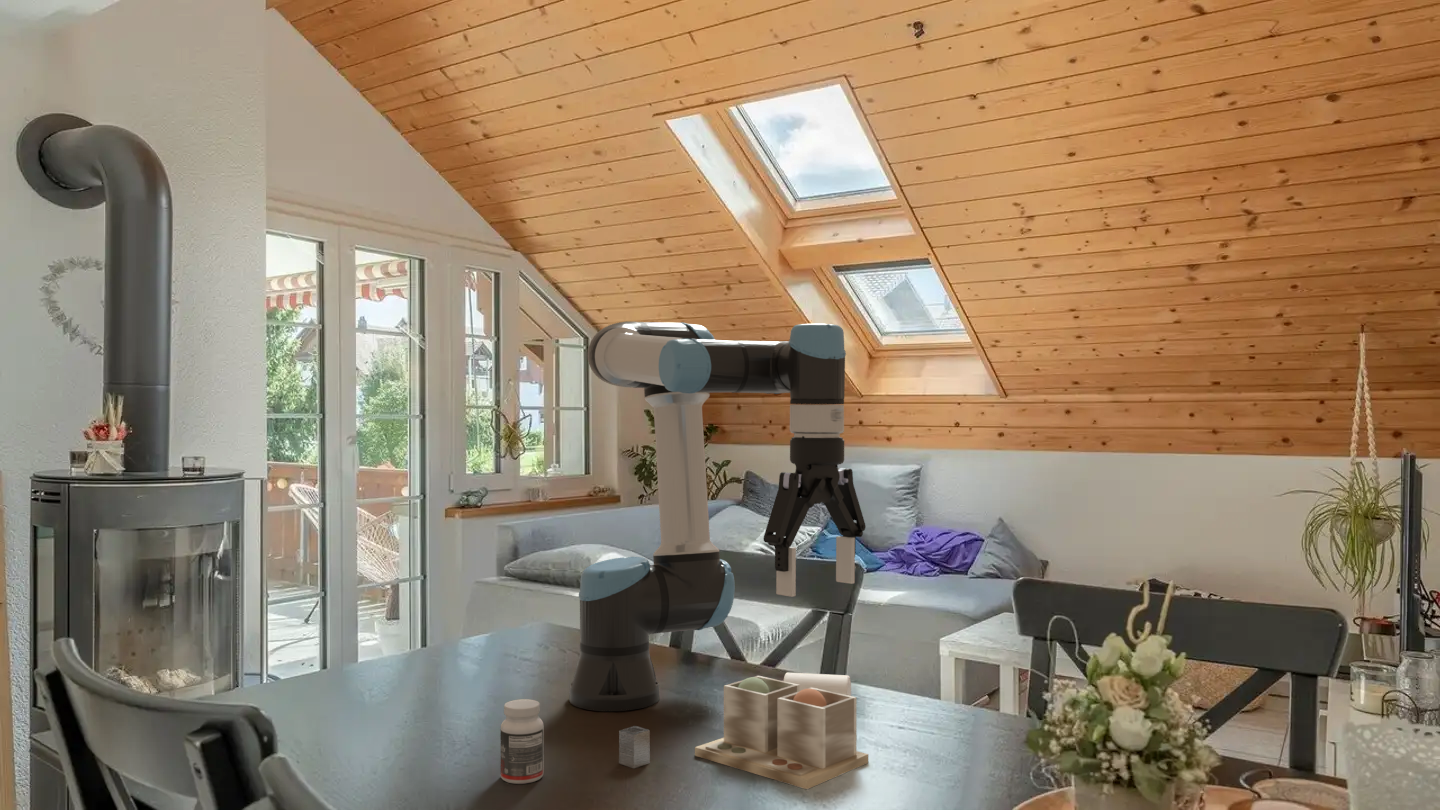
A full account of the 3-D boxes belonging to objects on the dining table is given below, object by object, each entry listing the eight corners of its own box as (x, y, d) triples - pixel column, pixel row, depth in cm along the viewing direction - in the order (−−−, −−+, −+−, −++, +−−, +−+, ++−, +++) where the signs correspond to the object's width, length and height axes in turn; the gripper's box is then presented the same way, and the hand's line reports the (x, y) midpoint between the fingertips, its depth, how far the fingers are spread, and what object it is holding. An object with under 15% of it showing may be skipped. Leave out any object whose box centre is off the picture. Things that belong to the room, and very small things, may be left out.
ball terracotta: (803, 736, 151) (779, 710, 152) (821, 719, 154) (797, 693, 155) (821, 720, 148) (797, 693, 149) (838, 702, 151) (814, 676, 153)
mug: (846, 735, 165) (846, 682, 165) (781, 731, 167) (781, 679, 167) (853, 713, 176) (853, 664, 176) (791, 709, 178) (792, 661, 178)
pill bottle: (503, 771, 149) (503, 698, 149) (545, 769, 149) (545, 697, 149) (498, 785, 143) (498, 710, 143) (542, 784, 143) (542, 709, 143)
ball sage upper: (740, 720, 158) (724, 692, 158) (758, 701, 162) (742, 673, 161) (764, 715, 155) (747, 686, 154) (781, 696, 158) (765, 668, 158)
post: (619, 763, 152) (619, 730, 152) (634, 758, 154) (634, 725, 154) (634, 768, 150) (634, 734, 150) (649, 763, 152) (649, 730, 152)
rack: (694, 755, 155) (694, 691, 155) (758, 733, 165) (758, 672, 165) (806, 789, 142) (806, 718, 142) (868, 762, 152) (868, 696, 152)
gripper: (781, 439, 139) (781, 604, 140) (890, 434, 158) (889, 580, 158) (737, 437, 145) (737, 597, 145) (847, 432, 163) (846, 574, 163)
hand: (816, 588), depth 151 cm, fingers open, 13 cm apart
